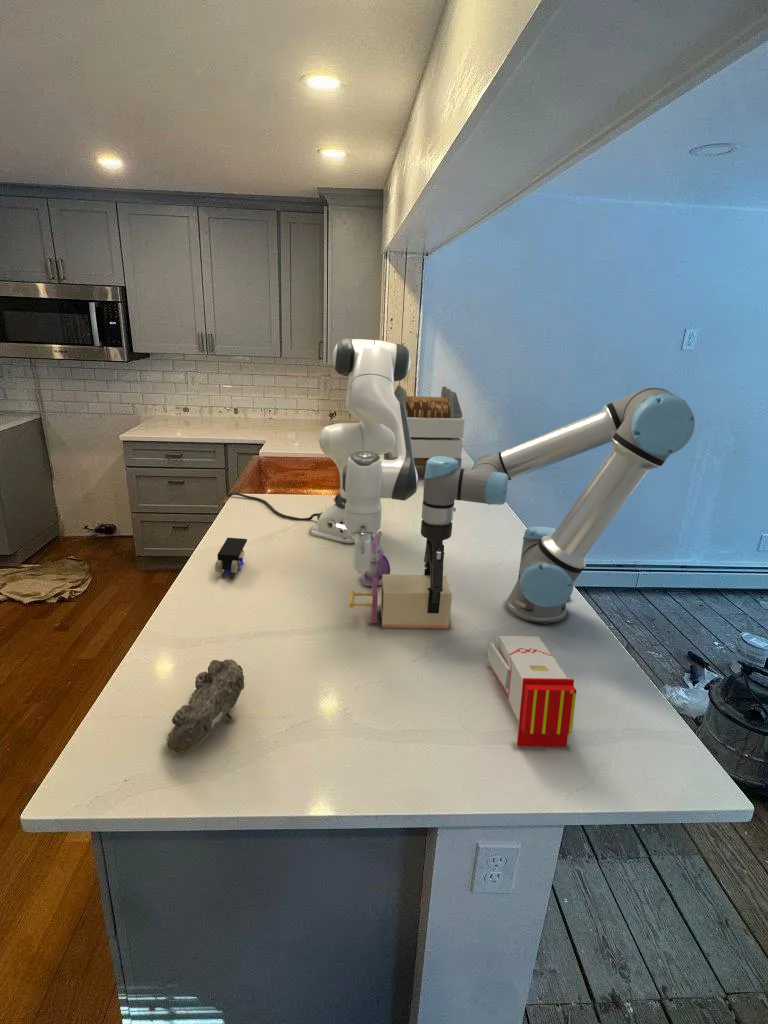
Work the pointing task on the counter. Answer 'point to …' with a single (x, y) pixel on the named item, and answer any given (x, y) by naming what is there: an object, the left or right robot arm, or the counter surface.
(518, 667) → the toy
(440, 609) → the beige drawer cabinet
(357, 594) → the drawer
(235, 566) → the figurine character
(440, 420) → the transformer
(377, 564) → the figurine
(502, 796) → the counter surface
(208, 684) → the fossil
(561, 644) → the counter surface
